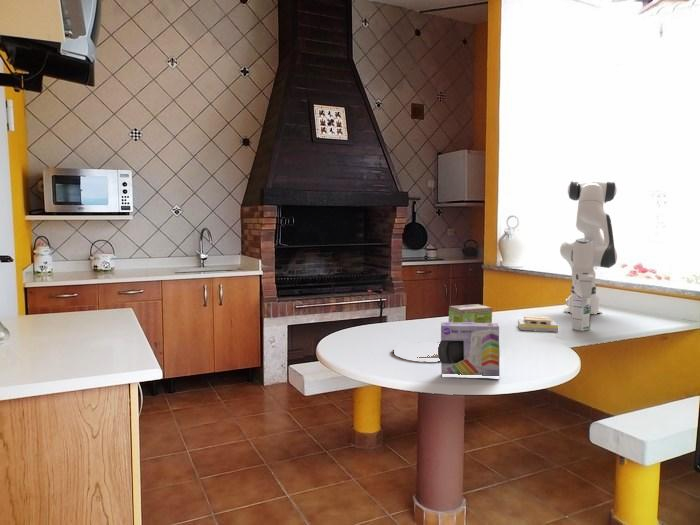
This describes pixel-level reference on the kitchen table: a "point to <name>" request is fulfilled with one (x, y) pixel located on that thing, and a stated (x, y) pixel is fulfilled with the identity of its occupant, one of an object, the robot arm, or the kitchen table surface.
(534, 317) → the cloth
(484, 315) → the tea box
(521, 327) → the dock
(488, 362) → the cake pan box
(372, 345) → the kitchen table surface
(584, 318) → the syrup box
